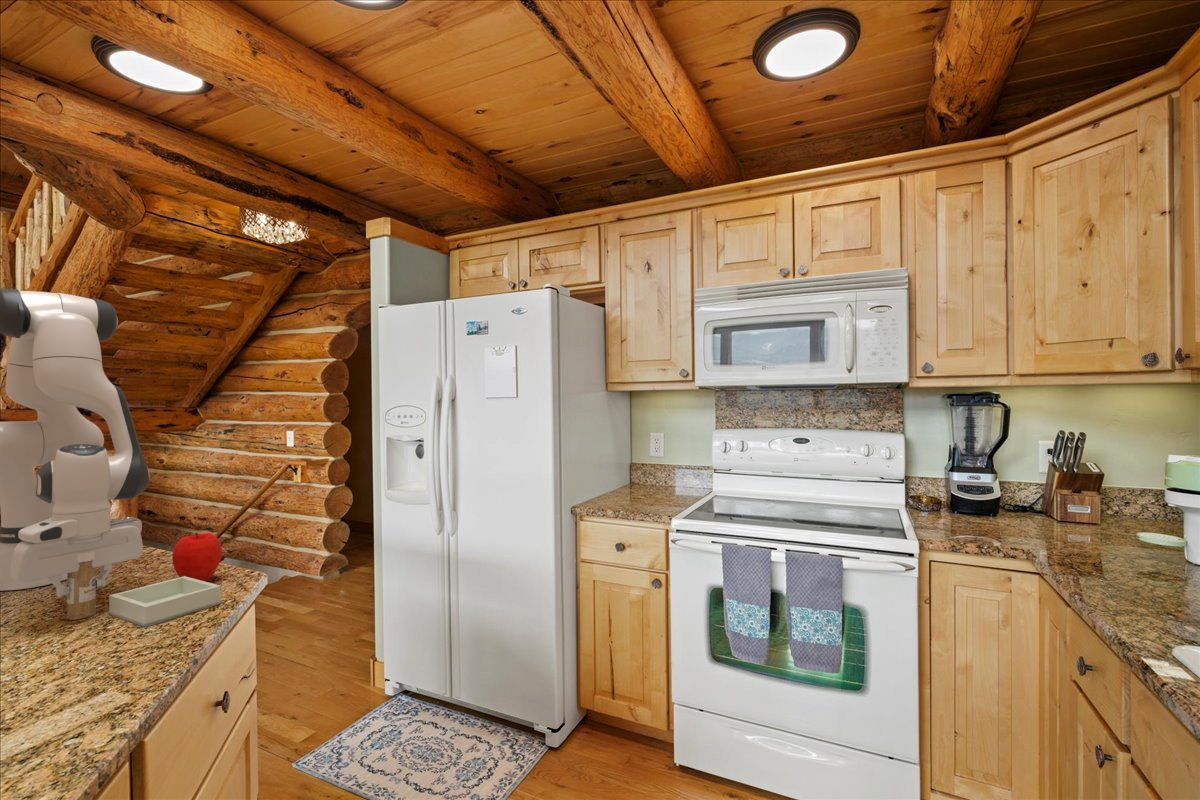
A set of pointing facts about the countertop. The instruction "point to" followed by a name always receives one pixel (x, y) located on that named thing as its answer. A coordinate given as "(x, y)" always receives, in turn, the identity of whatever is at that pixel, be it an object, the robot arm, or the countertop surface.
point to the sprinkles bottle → (82, 588)
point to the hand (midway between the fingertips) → (81, 591)
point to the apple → (197, 556)
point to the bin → (164, 601)
